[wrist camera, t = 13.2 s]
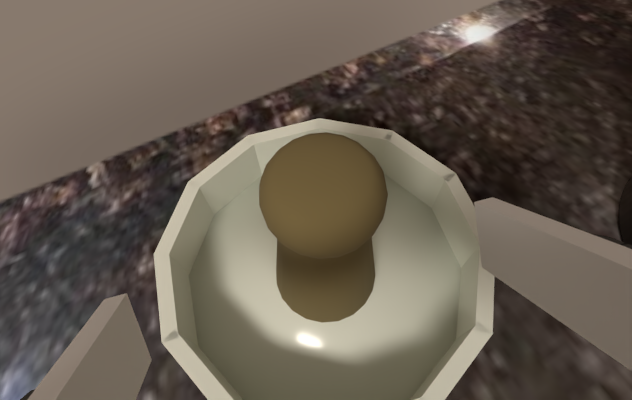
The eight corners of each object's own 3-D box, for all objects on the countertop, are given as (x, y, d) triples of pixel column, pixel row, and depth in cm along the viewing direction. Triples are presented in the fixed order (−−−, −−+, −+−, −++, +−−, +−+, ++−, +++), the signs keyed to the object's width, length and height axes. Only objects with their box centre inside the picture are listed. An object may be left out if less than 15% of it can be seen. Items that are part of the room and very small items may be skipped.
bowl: (402, 137, 31) (412, 95, 27) (524, 381, 22) (566, 370, 18) (170, 197, 29) (144, 160, 25) (205, 488, 20) (175, 503, 16)
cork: (267, 239, 26) (230, 125, 16) (359, 218, 26) (375, 96, 17) (286, 334, 23) (254, 263, 13) (388, 308, 23) (429, 222, 14)
